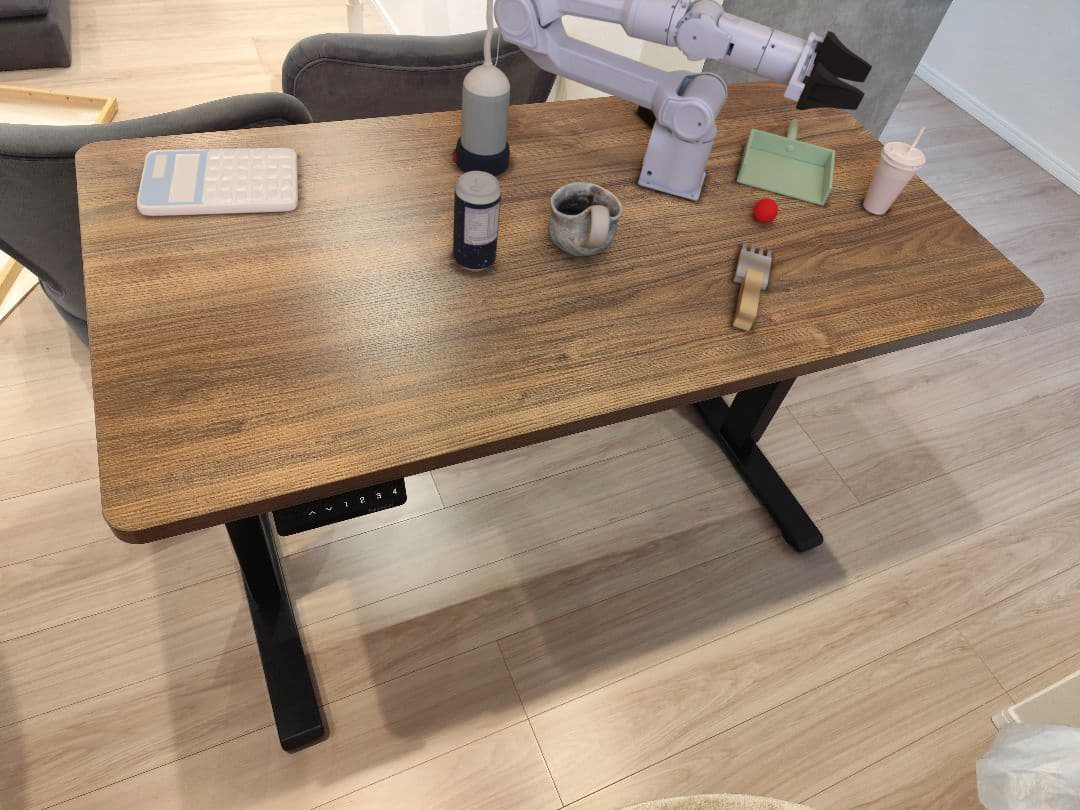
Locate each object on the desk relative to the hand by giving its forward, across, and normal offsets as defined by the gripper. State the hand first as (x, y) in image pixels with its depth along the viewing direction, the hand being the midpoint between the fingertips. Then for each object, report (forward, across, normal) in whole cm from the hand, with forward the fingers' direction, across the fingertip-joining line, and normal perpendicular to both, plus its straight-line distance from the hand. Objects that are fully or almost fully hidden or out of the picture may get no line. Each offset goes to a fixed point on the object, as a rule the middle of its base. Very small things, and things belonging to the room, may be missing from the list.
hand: (864, 87), depth 95 cm
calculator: (-75, -37, +24) cm, 87 cm away
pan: (-4, +15, +22) cm, 27 cm away
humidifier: (-47, -13, +24) cm, 54 cm away
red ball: (-5, -4, +20) cm, 21 cm away
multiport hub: (-25, +13, +24) cm, 37 cm away
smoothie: (+11, +10, +21) cm, 26 cm away
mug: (-26, -25, +22) cm, 42 cm away
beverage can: (-38, -34, +22) cm, 55 cm away
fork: (-3, -21, +21) cm, 29 cm away
